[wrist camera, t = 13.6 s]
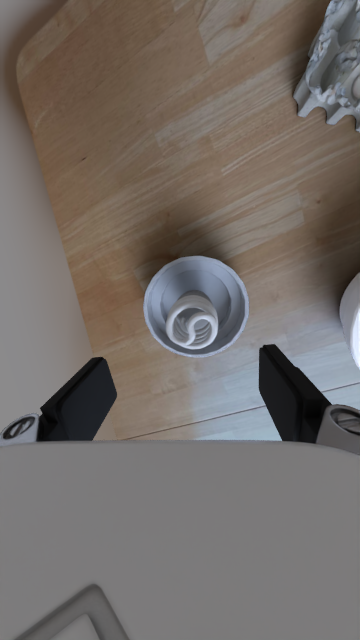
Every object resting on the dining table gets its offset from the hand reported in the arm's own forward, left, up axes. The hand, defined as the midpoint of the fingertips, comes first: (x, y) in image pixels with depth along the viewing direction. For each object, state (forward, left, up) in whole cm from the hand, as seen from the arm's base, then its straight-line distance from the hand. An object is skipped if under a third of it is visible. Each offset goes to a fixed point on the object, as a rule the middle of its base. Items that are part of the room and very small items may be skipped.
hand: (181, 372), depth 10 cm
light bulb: (0, 0, -19) cm, 19 cm away
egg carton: (+10, +27, -19) cm, 35 cm away
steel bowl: (0, 0, -19) cm, 19 cm away
